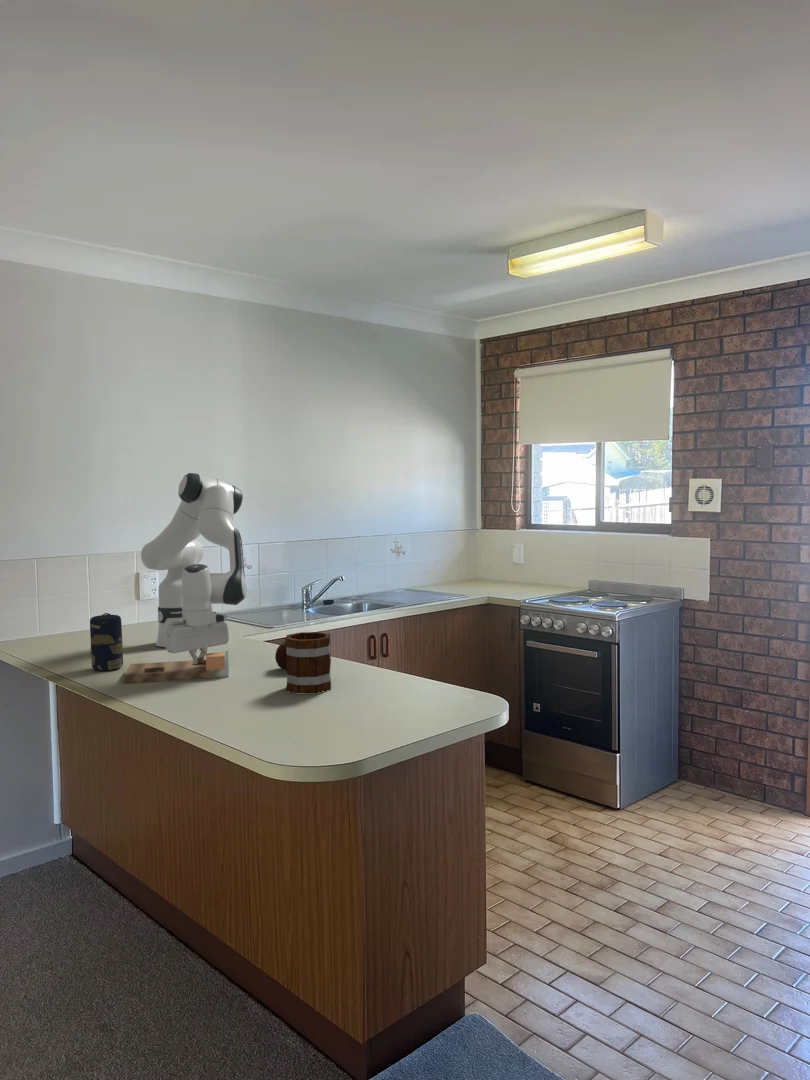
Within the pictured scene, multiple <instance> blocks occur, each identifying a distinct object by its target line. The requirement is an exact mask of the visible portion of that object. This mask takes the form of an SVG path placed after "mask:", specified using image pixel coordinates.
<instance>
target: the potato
mask: <svg viewBox="0 0 810 1080" xmlns="http://www.w3.org/2000/svg"><path fill="white" fill-rule="evenodd" d="M274 655H275V656H274V658H275V662H276V663H277V666H278V667H279V668H280V669H282V670H285V671H286V641H284V642H282V643H281V644H279V645H278V647H277V648H276V650H275V654H274Z"/></svg>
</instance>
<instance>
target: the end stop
mask: <svg viewBox="0 0 810 1080" xmlns="http://www.w3.org/2000/svg"><path fill="white" fill-rule="evenodd" d="M224 657H225V677H224V678H229V673H230V671H229V670H230V668H229V667H230V665H229V661H230V659H229V658H230V657H229V650H225V651H224Z"/></svg>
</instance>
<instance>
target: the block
mask: <svg viewBox="0 0 810 1080" xmlns="http://www.w3.org/2000/svg"><path fill="white" fill-rule="evenodd" d="M205 660H206V670H217V669H225V651H224V652H210V653H208V652H207V653H206V655H205Z"/></svg>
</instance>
